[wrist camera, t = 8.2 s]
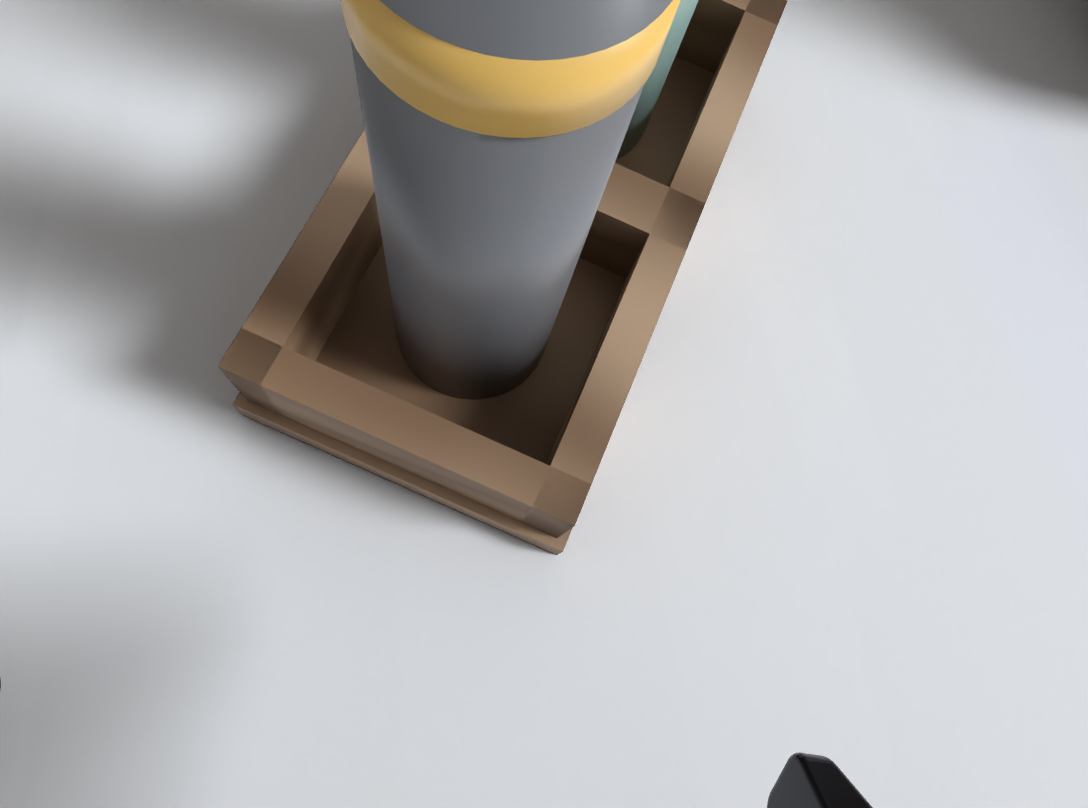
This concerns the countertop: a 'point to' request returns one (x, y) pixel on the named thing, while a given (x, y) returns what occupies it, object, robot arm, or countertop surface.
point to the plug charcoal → (492, 164)
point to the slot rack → (575, 340)
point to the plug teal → (657, 76)
